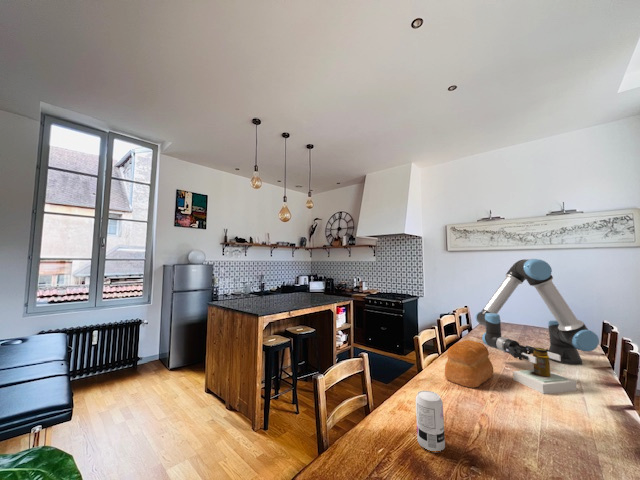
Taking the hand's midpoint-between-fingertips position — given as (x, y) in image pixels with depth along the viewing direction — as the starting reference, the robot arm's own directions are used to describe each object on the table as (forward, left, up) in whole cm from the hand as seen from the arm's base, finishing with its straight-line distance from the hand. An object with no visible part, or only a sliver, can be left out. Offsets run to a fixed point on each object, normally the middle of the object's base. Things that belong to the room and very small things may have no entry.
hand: (548, 359), depth 123 cm
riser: (0, -3, -13) cm, 13 cm away
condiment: (+1, -3, -8) cm, 9 cm away
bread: (+28, -17, -13) cm, 36 cm away
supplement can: (+77, +25, -13) cm, 82 cm away
